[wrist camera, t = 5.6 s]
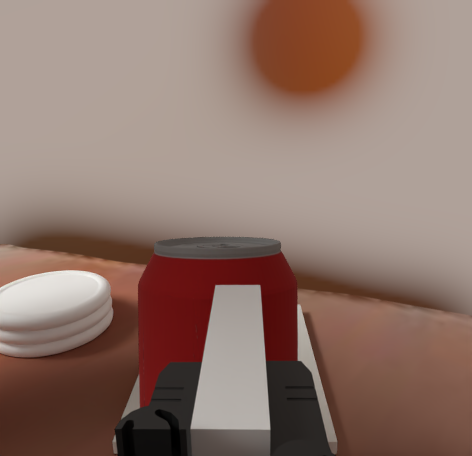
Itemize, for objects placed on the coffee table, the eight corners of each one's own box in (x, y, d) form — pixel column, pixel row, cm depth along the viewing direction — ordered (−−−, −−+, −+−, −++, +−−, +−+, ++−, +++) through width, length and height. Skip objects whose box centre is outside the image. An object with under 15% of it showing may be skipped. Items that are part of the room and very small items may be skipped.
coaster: (48, 296, 43) (43, 263, 42) (135, 309, 40) (132, 274, 39) (-42, 349, 34) (-51, 309, 33) (61, 371, 31) (55, 327, 30)
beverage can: (243, 450, 23) (241, 233, 23) (331, 530, 18) (332, 243, 17) (121, 495, 20) (115, 240, 19) (182, 613, 14) (177, 255, 14)
